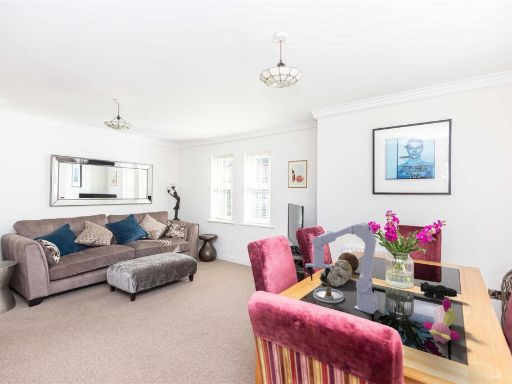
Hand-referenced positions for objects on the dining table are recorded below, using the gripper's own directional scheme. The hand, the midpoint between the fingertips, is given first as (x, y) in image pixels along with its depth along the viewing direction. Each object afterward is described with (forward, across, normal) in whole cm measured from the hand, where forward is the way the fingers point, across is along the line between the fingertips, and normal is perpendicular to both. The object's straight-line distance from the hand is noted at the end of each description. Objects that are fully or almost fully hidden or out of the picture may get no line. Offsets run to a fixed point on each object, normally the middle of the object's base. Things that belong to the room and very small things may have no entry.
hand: (318, 280), depth 152 cm
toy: (+10, -52, +28) cm, 59 cm away
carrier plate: (+9, -6, -2) cm, 11 cm away
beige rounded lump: (+10, -13, -29) cm, 33 cm away
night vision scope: (+10, -67, -16) cm, 70 cm away
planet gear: (+8, -6, +3) cm, 10 cm away
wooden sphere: (+10, -22, -52) cm, 57 cm away
